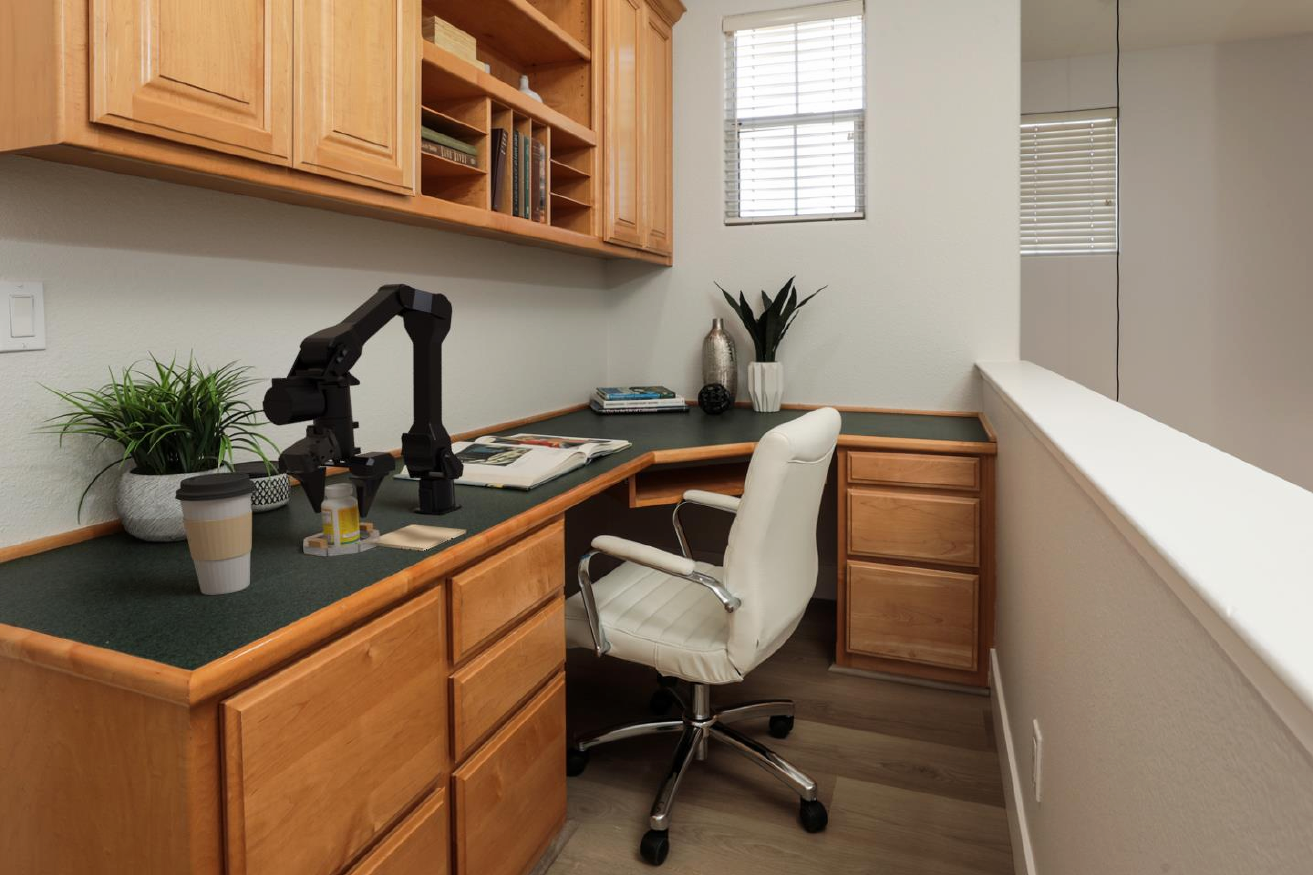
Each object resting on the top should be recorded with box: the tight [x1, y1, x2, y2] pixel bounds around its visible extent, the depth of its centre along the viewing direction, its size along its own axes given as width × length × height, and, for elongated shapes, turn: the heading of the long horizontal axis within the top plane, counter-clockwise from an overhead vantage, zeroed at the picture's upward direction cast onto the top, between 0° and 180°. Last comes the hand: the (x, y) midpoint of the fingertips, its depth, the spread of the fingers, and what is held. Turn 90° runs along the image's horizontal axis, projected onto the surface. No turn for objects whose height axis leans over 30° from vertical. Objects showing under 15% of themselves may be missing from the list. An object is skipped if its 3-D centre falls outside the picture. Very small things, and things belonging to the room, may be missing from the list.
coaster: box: [376, 523, 467, 552], centre depth 128 cm, size 11×11×1 cm
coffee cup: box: [174, 471, 257, 596], centre depth 105 cm, size 9×9×15 cm
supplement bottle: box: [321, 482, 361, 546], centre depth 125 cm, size 5×5×10 cm
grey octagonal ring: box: [302, 521, 381, 557], centre depth 125 cm, size 11×11×2 cm
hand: (340, 515), depth 125 cm, fingers open, 9 cm apart
